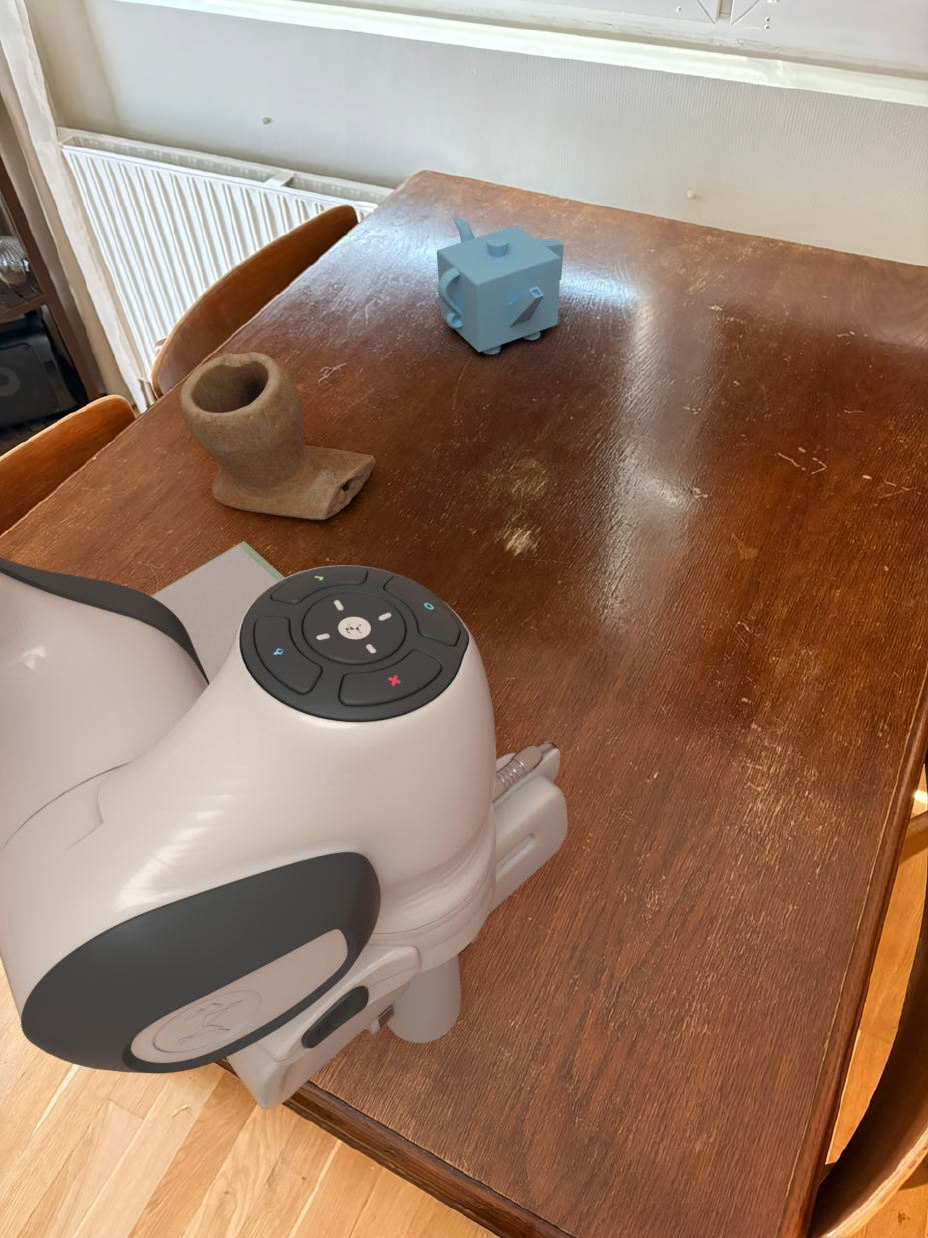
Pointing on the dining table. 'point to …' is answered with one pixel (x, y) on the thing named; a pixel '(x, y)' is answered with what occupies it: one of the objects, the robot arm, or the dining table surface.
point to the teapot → (499, 286)
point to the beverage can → (428, 1004)
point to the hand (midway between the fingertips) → (416, 976)
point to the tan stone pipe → (265, 441)
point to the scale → (218, 600)
